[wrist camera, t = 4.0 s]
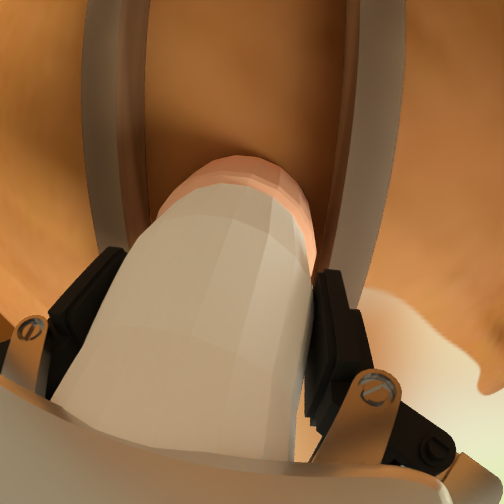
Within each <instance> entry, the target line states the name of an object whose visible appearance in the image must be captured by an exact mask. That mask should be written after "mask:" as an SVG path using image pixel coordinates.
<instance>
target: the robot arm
mask: <svg viewBox="0 0 504 504" xmlns="http://www.w3.org/2000/svg"><path fill="white" fill-rule="evenodd" d="M127 254H128V253H127V252H125V251H124V249H123V248H121V247H112V246H108V247H107V248H106V249H105V250H104V251H103V252H102V253H101V254H100V255H99V256H98V257H97V258H96V259H95V260H94V261H93V262H92V263H91V264H90V265H89V266H88V267H87V268H86V270H85V271H84V272H83V273H82V274H81V275H80V276H79V277H78V278H77V279H76V280H75V281H74V282H73V283H72V285H71V286H70V287H69V288H68V289H67V290H66V291H65V292H64V293H63V295H62V296H61V297H60V298H59V299H58V300H57V301H56V303H55V304H54V305H53V306H52V307H51V308H50V310H49V311H48V314H49V316H50V318H49V319H48V320H47V319H45V318H44V317H43V316H40V315H33V316H29V317H27V318H24V319H23V320H22V321H20V322H19V323H18V325H17V326H16V328H15V330H14V332H13V335H12V338H11V339H10V340H7V341H5V342H1V343H0V504H499V502H500V500H501V497H502V494H503V486H502V483H501V480H500V479H499V478H498V477H497V476H495V475H494V474H492V473H491V472H490V471H488V470H487V469H486V468H484V467H483V466H481V465H480V464H479V463H477V462H476V461H474V460H473V459H472V458H470V457H469V456H468V455H466V454H465V453H463V452H462V453H461V454H458V453H457V452H456V447H455V443H454V441H453V439H452V437H451V436H450V435H449V434H448V433H447V432H445V431H444V430H442V429H441V428H439V427H437V426H436V425H435V424H433V423H432V422H430V421H429V420H427V419H426V418H425V417H423V416H422V415H420V414H419V413H418V412H416V411H415V410H413V409H412V408H410V407H409V406H408V405H406V404H405V403H403V402H402V401H401V395H402V390H401V387H400V384H399V382H398V381H397V379H396V378H394V377H393V376H392V375H391V374H390V373H387V372H386V371H384V370H379V369H374V365H373V361H372V356H371V352H370V347H369V343H368V339H367V335H366V331H365V327H364V323H363V319H362V315H361V312H360V310H358V309H350V307H349V303H348V299H347V295H346V290H345V286H344V282H343V278H342V274H341V271H340V270H333V269H324V270H323V273H320V272H318V273H317V276H316V281H315V286H314V290H313V298H314V306H315V309H314V321H313V328H312V334H311V340H310V346H309V352H308V357H307V363H306V369H305V374H304V378H305V411H304V413H305V417H310V426H316V430H317V432H319V433H320V434H321V435H322V438H321V439H320V441H319V443H318V445H317V447H316V448H315V451H314V452H313V454H312V456H311V457H310V459H309V461H308V463H301V462H284V461H272V460H260V459H251V458H242V457H235V456H228V455H221V454H215V453H210V452H197V451H183V450H172V449H162V448H153V447H148V446H145V445H141V444H138V443H134V442H131V441H128V440H124V439H121V438H118V437H115V436H112V435H109V434H106V433H104V432H101V431H98V430H95V429H94V428H92V427H90V426H89V425H87V424H86V423H84V422H83V421H81V420H80V419H78V418H77V417H75V416H74V415H72V414H71V413H69V412H68V411H66V410H65V409H63V407H62V406H60V405H57V404H55V403H53V402H51V401H50V400H51V398H52V396H53V395H54V393H55V391H56V389H57V388H58V386H59V384H60V383H61V381H62V379H63V378H64V376H65V374H66V373H67V371H68V369H69V368H70V366H71V364H72V363H73V361H74V359H75V358H76V356H77V355H78V353H79V351H80V350H81V348H82V347H83V344H84V342H85V340H86V337H87V335H88V333H89V331H90V328H91V326H92V324H93V322H94V319H95V317H96V315H97V313H98V311H99V309H100V307H101V304H102V302H103V300H104V298H105V296H106V294H107V292H108V290H109V288H110V286H111V284H112V282H113V280H114V278H115V276H116V274H117V272H118V270H119V268H120V267H121V265H122V263H123V261H124V259H125V257H126V256H127Z"/></svg>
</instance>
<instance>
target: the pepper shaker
mask: <svg viewBox="0 0 504 504" xmlns="http://www.w3.org/2000/svg"><path fill="white" fill-rule="evenodd" d="M316 254H317V252H316V245H315V238H314V231H313V225H312V219H311V214H310V209H309V203H308V200H307V199H306V197H305V195H304V193H303V191H302V189H301V188H300V186H299V184H298V182H297V181H295V180H294V179H293V178H292V177H291V176H290V175H289V174H288V173H287V172H286V171H285V170H283V169H282V168H281V167H280V166H277V165H275V164H273V163H271V162H268V161H266V160H264V159H262V158H259V157H251V156H241V155H234V156H229V157H225V158H220V159H216V160H213V161H211V162H210V163H208V164H206V165H205V166H203V167H202V168H200V169H198V170H197V171H195V172H194V173H193V174H192V175H191V176H190V177H188V178H187V179H186V180H185V181H184V182H183V183H181V184H180V185H179V186H178V187H177V188H176V189H175V190H174V191H173V192H172V193H171V194H170V196H169V197H168V198H167V200H166V201H165V203H164V204H163V205H162V207H161V208H160V209H159V211H158V215H157V219H156V221H155V222H154V223H153V224H152V225H151V226H150V227H148V228H147V229H146V230H145V231H144V232H143V233H142V234H141V235H140V236H139V237H138V239H137V240H136V242H135V243H134V245H133V246H132V248H131V249H130V251H129V253H128V254H127V256H126V257H125V259H124V261H123V263H122V265H121V267H120V268H119V270H118V272H117V274H116V276H115V278H114V280H113V282H112V284H111V286H110V288H109V290H108V292H107V294H106V296H105V298H104V300H103V302H102V304H101V307H100V309H99V311H98V313H97V315H96V317H95V319H94V322H93V324H92V326H91V328H90V331H89V333H88V335H87V337H86V340H85V342H84V344H83V347H82V348H81V350H80V351H79V353H78V355H77V356H76V358H75V359H74V361H73V363H72V364H71V366H70V368H69V369H68V371H67V373H66V374H65V376H64V378H63V379H62V381H61V383H60V384H59V386H58V388H57V389H56V391H55V393H54V395H53V396H52V398H51V400H50V401H51V402H53V403H55V404H57V405H60V406H62V407H63V409H65V410H66V411H68V412H69V413H71V414H72V415H74V416H75V417H77V418H78V419H80V420H81V421H83V422H84V423H86V424H87V425H89V426H90V427H92V428H94V429H95V430H98V431H101V432H104V433H106V434H109V435H112V436H115V437H118V438H121V439H124V440H128V441H131V442H134V443H138V444H141V445H145V446H148V447H153V448H162V449H172V450H183V451H197V452H210V453H215V454H221V455H228V456H235V457H242V458H251V459H260V460H272V461H284V462H294V450H295V430H296V413H297V409H298V404H299V399H300V394H301V389H302V384H303V379H304V374H305V369H306V363H307V357H308V352H309V346H310V340H311V334H312V328H313V321H314V309H315V306H314V298H313V291H312V284H311V276H312V272H313V267H314V263H315V259H316Z"/></svg>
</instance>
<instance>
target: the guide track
mask: <svg viewBox="0 0 504 504" xmlns="http://www.w3.org/2000/svg"><path fill="white" fill-rule="evenodd" d="M149 6H150V0H88V4H87V12H86V20H85V29H84V39H83V53H82V78H81V106H82V132H83V147H84V158H85V168H86V177H87V185H88V193H89V200H90V206H91V212H92V218H93V224H94V229H95V235H96V240H97V245H98V249H99V254H101V253H102V252H103V251H104V250H105V249H106V248H107V247H108V246H112V247H121V248H123V249H124V251H125V252H127V253H129V251H130V249H131V248H132V246H133V245H134V243H135V242H136V240H137V239H138V237H139V236H140V235H141V234H142V233H143V232H144V231H145V230H146V229H147V228H148V227H150V226H151V225H150V215H149V204H148V192H147V177H146V159H145V131H144V82H145V56H146V39H147V26H148V15H149ZM405 41H406V9H405V0H346V20H345V46H344V63H343V78H342V91H341V102H340V113H339V122H338V132H337V141H336V149H335V157H334V165H333V172H332V179H331V186H330V193H329V200H328V206H327V213H326V219H325V225H324V231H323V237H322V242H321V248H320V253H319V259H318V264H317V269H316V274H315V279H314V284H313V289H312V291H313V290H314V286H315V281H316V276H317V273H318V272H320V273H323V270H324V269H333V270H340V271H341V274H342V278H343V282H344V286H345V290H346V295H347V299H348V303H349V307H350V309H356V308H357V305H358V302H359V299H360V296H361V293H362V290H363V286H364V283H365V280H366V277H367V273H368V270H369V266H370V263H371V259H372V255H373V252H374V248H375V244H376V240H377V236H378V232H379V228H380V224H381V220H382V216H383V211H384V207H385V202H386V198H387V193H388V188H389V183H390V178H391V172H392V167H393V161H394V155H395V149H396V142H397V135H398V128H399V120H400V112H401V103H402V93H403V81H404V66H405Z"/></svg>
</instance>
